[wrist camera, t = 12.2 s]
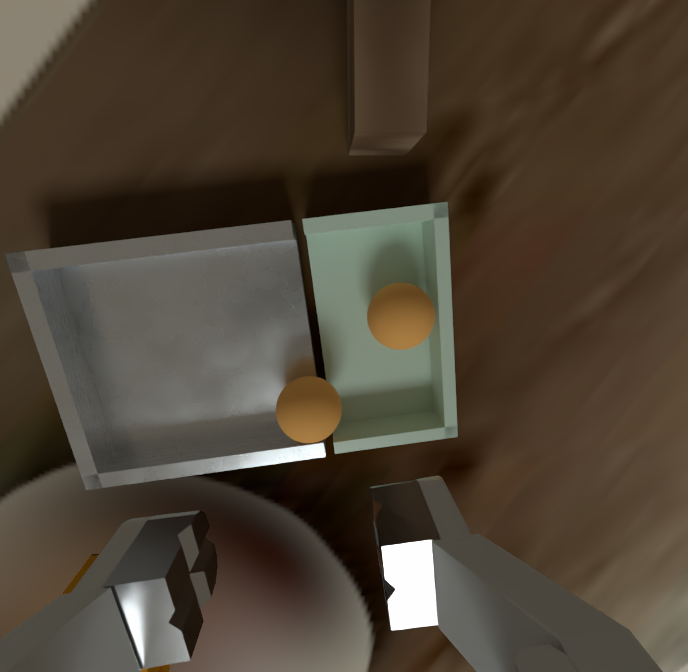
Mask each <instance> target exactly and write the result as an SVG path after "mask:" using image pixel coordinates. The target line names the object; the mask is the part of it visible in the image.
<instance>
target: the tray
mask: <svg viewBox="0 0 688 672" xmlns="http://www.w3.org/2000/svg"><path fill="white" fill-rule="evenodd" d="M302 220H303V228H304V234H305V235H306V237H307V244H308V251H309V259H310V266H311V273H312V280H313V288H314V295H315V302H316V309H317V317H318V324H319V331H320V338H321V345H322V353H323V360H324V367H325V374H326V381H327V382H329V383H330V384H331V385H332V386H333V387H334V388H335V389H336V391H337V392H338V394H339V397H340V399H341V404H342V414H341V419H340V422H339V424H338V426H337V428H336V429H335V430H334V432H333V443H334V450H335V454H337V453H344V452H351V451H359V450H366V449H373V448H380V447H387V446H395V445H402V444H409V443H416V442H423V441H431V440H438V439H445V438H452V437H458V432H457V409H456V385H455V362H454V338H453V315H452V291H451V268H450V244H449V221H448V202H442V203H433V204H425V205H416V206H408V207H400V208H391V209H383V210H374V211H366V212H357V213H349V214H340V215H332V216H323V217H315V218H307V219H302ZM394 283H409V284H413V285H415V286H417V287H419V288H420V289H422V290H423V291H424V292H425V293H426V294H427V295H428V296H429V298H430V299H431V301H432V303H433V306H434V310H435V321H434V326H433V329H432V331H431V333H430V334H429V336H428V337H427V338H426V339H425V340H424V341H423V342H422V343H421V344H419V345H417V346H415V347H413V348H410V349H405V350H397V349H391V348H389V347H386V346H384V345H383V344H381V343H380V342H378V341H377V340H376V339H375V337H374V336H373V335H372V333H371V331H370V329H369V326H368V322H367V311H368V307H369V304H370V302H371V300H372V298H373V297H374V295H375V294H376V293H377V292H378V291H379V290H381V289H382V288H384V287H386V286H388V285H390V284H394Z"/></svg>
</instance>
